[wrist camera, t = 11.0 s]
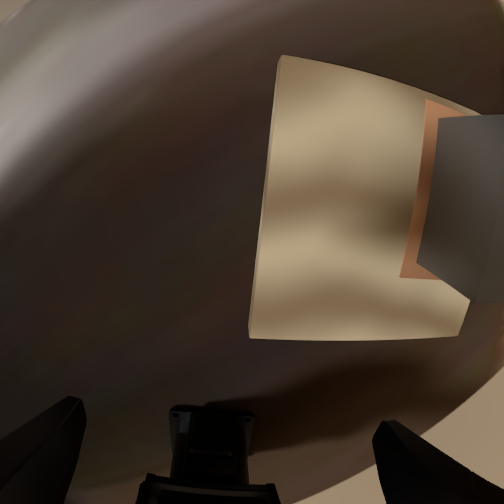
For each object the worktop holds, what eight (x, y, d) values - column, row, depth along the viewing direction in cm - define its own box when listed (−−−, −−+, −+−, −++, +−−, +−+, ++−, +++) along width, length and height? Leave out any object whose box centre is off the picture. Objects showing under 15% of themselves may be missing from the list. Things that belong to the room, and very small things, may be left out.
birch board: (447, 326, 22) (458, 336, 20) (248, 325, 20) (249, 338, 19) (489, 125, 17) (503, 125, 16) (277, 62, 16) (282, 54, 14)
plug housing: (465, 266, 18) (522, 302, 13) (415, 262, 18) (474, 303, 12) (488, 70, 14) (549, 60, 9) (439, 45, 14) (502, 23, 8)
